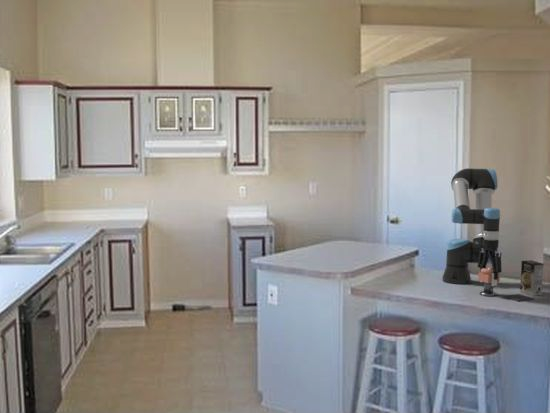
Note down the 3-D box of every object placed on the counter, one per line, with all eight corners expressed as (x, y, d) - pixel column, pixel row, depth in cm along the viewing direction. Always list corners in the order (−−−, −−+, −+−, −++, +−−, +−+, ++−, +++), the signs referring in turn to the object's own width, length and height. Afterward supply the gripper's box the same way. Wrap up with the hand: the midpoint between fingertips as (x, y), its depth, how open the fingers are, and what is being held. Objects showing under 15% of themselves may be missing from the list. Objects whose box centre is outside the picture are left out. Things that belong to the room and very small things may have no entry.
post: (476, 293, 325) (477, 276, 324) (489, 292, 328) (489, 274, 327) (487, 297, 318) (488, 279, 317) (500, 295, 321) (500, 278, 320)
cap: (478, 280, 324) (478, 266, 323) (489, 278, 327) (490, 265, 326) (488, 283, 318) (488, 269, 317) (499, 282, 320) (500, 268, 320)
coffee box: (519, 291, 330) (520, 260, 328) (529, 290, 332) (531, 259, 331) (532, 295, 322) (533, 264, 320) (542, 294, 324) (544, 263, 322)
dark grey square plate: (502, 296, 319) (503, 295, 319) (518, 295, 323) (518, 293, 323) (517, 301, 310) (517, 300, 310) (533, 299, 313) (533, 298, 313)
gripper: (471, 236, 328) (469, 280, 330) (499, 242, 309) (496, 289, 312) (482, 235, 330) (480, 278, 333) (511, 241, 312) (508, 287, 315)
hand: (488, 283), depth 323 cm, fingers closed on cap, 7 cm apart
